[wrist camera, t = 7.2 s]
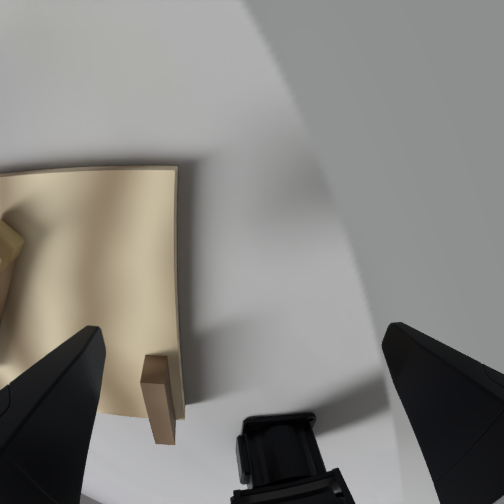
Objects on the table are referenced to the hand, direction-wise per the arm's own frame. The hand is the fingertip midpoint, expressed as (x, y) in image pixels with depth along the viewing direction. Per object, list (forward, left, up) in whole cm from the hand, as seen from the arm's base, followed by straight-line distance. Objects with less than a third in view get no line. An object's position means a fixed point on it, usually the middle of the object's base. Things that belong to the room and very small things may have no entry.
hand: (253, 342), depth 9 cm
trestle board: (+14, +5, -9) cm, 17 cm away
